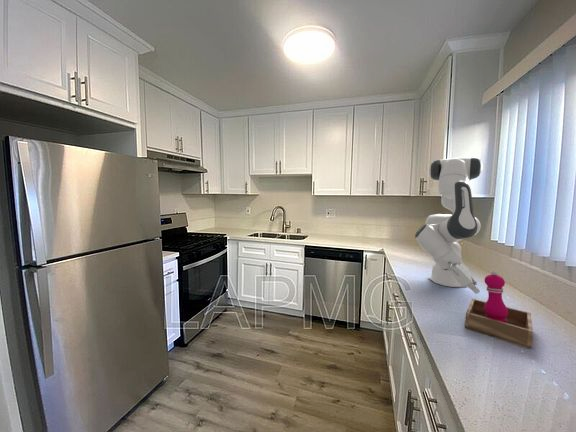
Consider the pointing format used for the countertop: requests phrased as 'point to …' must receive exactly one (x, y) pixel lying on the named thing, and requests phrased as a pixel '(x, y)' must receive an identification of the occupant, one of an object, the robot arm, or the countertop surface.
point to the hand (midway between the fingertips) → (476, 288)
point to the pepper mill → (495, 298)
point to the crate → (501, 324)
